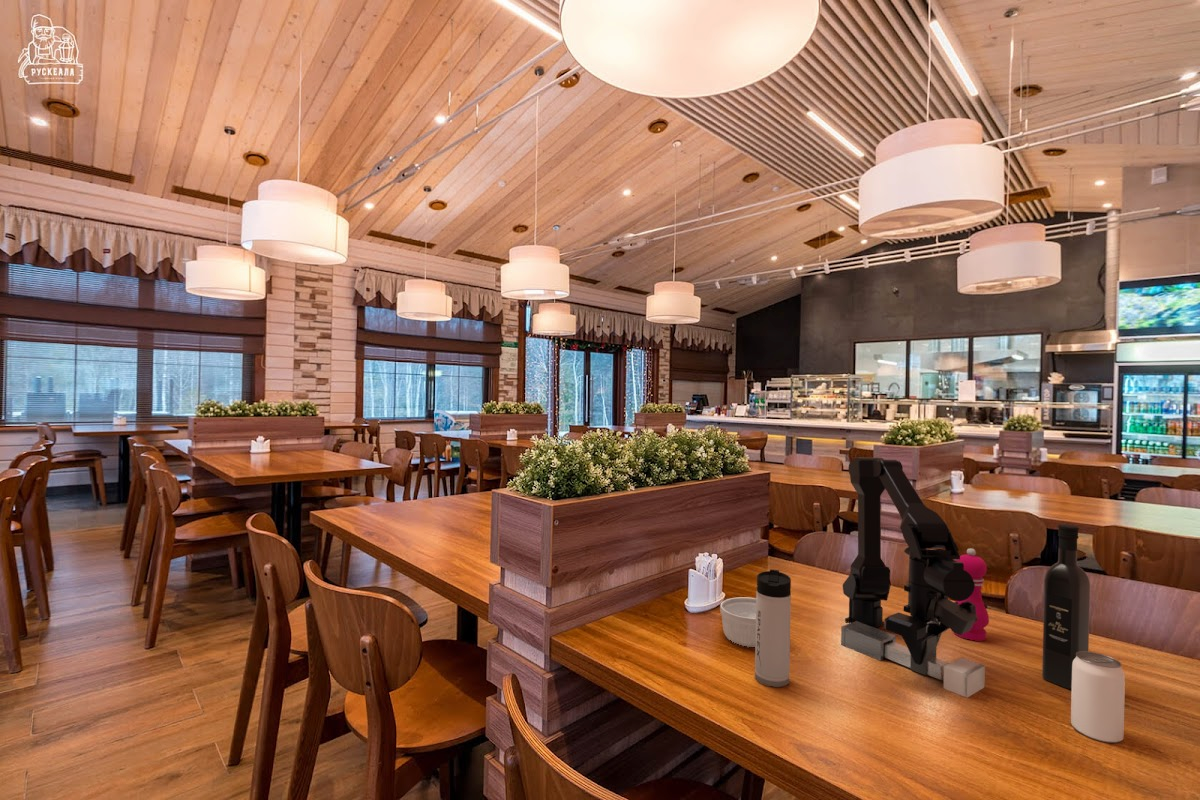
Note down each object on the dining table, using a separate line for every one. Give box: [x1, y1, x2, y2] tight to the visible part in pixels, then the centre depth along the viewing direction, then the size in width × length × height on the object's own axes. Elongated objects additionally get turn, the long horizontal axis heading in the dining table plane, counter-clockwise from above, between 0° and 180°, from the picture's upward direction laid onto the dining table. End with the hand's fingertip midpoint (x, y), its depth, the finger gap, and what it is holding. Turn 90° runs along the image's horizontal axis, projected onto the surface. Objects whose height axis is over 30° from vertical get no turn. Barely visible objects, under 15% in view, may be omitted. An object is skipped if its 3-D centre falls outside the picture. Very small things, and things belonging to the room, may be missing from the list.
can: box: [1070, 650, 1126, 744], centre depth 93 cm, size 6×6×12 cm
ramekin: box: [719, 596, 756, 648], centre depth 127 cm, size 13×13×7 cm
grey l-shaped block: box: [883, 632, 950, 682], centre depth 115 cm, size 16×4×7 cm, turn 34°
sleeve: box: [840, 621, 897, 662], centre depth 122 cm, size 9×6×4 cm, turn 34°
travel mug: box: [754, 569, 792, 688], centre depth 108 cm, size 6×7×20 cm
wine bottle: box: [1041, 524, 1091, 691], centre depth 109 cm, size 6×6×30 cm
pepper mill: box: [953, 548, 990, 642], centre depth 130 cm, size 7×7×20 cm
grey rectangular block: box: [943, 656, 986, 699], centre depth 106 cm, size 4×7×4 cm, turn 124°
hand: (923, 661), depth 112 cm, fingers closed on grey l-shaped block, 4 cm apart
